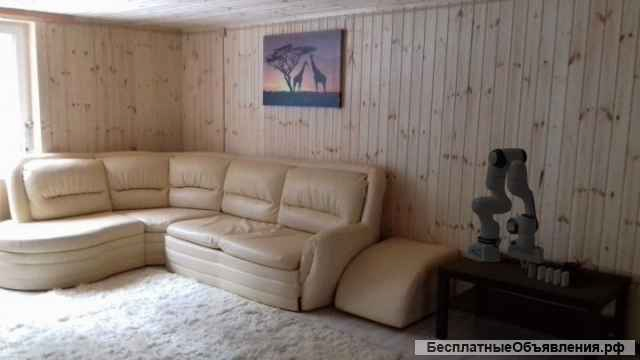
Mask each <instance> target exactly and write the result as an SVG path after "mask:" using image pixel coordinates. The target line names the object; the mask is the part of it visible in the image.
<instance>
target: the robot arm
mask: <svg viewBox="0 0 640 360" xmlns="http://www.w3.org/2000/svg"><path fill="white" fill-rule="evenodd" d="M527 160H528V154H527V152H526V150H525V149H522V148H520V147H518V148H517V147H516V148H515V147H507V148H504V147H503V148H496V149H493V150H491V152H490V153H489V164H488V167H487V171H486V179H485V186H486V187H485V188H487V189H488V190H489V191H490V192H491V194H490V196H489V195H488V196H479V197H475V198H474V199H473V200H472V201H471V210H472V212H473V213H474V214H475V215H476V216H477V218H478V219H479V222H480V235H479V236H477V237H476V239H477V240H476V241H475V242H474V243H472V244H471V245H469V246H468V248H467V252H465V253H463V257H465V258H468V259H471V260H473V261H476V262H479V263H498V262H501V261H502V259H501V256H500V255H501V253H500V244H501V237H500V232H501V224H500V223H499V222H498V221H497V220H495V219H494V215H504V214H507V213H509V212H510V211H511V210H512V208H513V202H512V200H511V198H510V197H509V196H508V195H507V194H506V188H507V191H508V192H509V193H510V194H511V195H512V196H515V197H517V198H519V199H521V200H522V202H523V204H524V205H523V206H524V211H525V213H522V214H520V215H518V216H516V217H510V218H509V219H507V221H506V230H507V232H508V233H509V234H511V235H517V236H518V237H517V238H515V239H512V240H510V241H509V243H508V244H509V245H508V248H507V256H508V257H510V258H513V259H517V260H519V262H520V265H521V268H522V269H528V268H529V265H530V264H531V263H533V264H539V265H541V264H542V263H544V262H545V259H544V258H545V257H544V254H545V253H544V252H545V250H544V248H543V247H542V246H540V245H539V246H538V245H536V235H535V234H536V233H537V232H538V230H539V226H540V224H539V221H538V218H537V213H536V212H537V211H536V204H535V198H534V194H533V191H532V190H531V189H530V186H529V183H528V182H529V181H528V177H529V176H528V169H527V168H528V167H527V165H526V163H527ZM524 261H525V262H524Z"/></svg>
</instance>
